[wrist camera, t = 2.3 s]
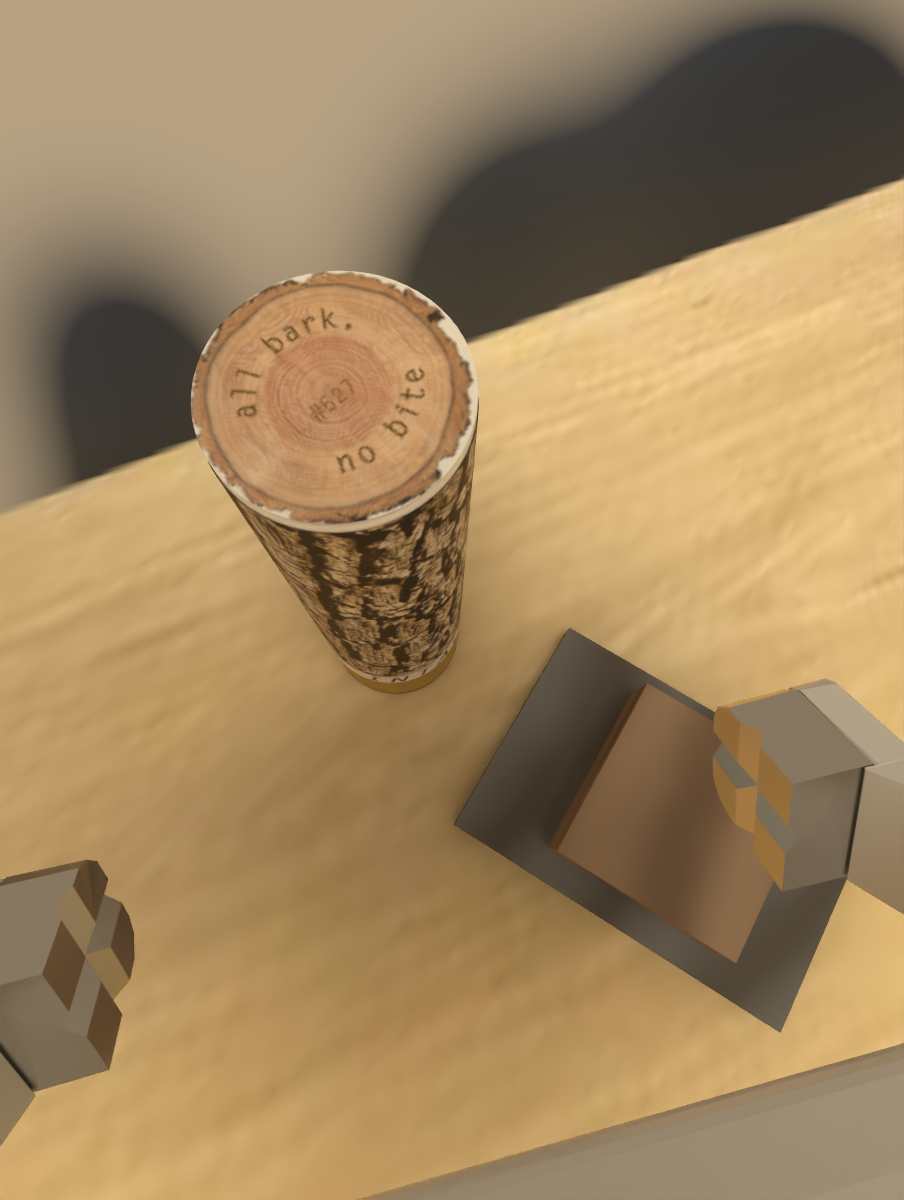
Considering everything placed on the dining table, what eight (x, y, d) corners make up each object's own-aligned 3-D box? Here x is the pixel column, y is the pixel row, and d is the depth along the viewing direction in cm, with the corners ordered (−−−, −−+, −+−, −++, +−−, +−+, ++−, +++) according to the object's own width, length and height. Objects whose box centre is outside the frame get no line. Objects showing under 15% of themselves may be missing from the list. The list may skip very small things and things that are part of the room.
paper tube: (311, 632, 41) (130, 383, 17) (401, 554, 43) (349, 223, 19) (392, 721, 40) (319, 585, 16) (483, 638, 41) (539, 397, 17)
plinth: (454, 824, 39) (455, 826, 34) (565, 634, 41) (581, 611, 37) (767, 1023, 36) (816, 1056, 31) (861, 807, 39) (920, 806, 34)
